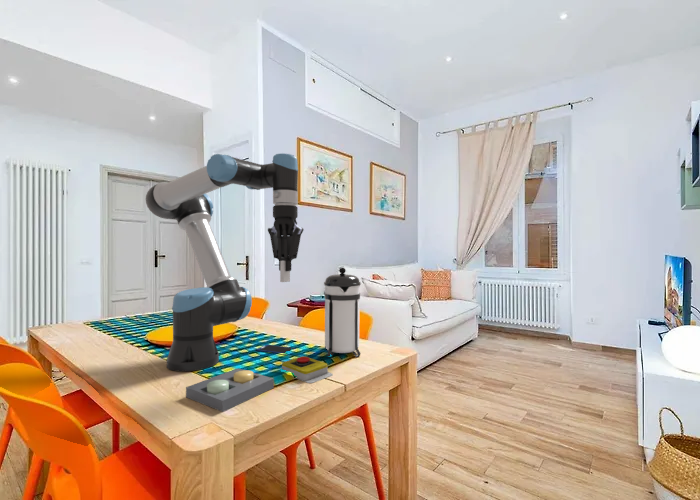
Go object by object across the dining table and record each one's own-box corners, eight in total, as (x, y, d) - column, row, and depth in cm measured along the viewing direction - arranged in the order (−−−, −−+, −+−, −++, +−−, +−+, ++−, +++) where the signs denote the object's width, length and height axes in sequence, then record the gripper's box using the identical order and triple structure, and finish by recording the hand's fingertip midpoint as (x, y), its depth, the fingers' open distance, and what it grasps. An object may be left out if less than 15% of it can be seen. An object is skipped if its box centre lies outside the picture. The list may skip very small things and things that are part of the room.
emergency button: (301, 350, 114) (334, 361, 104) (301, 364, 114) (334, 376, 104) (277, 357, 107) (310, 369, 97) (277, 372, 107) (310, 385, 97)
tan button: (229, 385, 94) (229, 374, 94) (244, 379, 98) (244, 369, 98) (242, 390, 91) (242, 378, 91) (257, 383, 95) (257, 372, 95)
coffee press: (373, 351, 126) (374, 267, 126) (343, 362, 114) (343, 269, 114) (338, 342, 138) (338, 265, 137) (307, 351, 126) (307, 267, 125)
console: (186, 397, 88) (186, 387, 88) (238, 377, 101) (238, 368, 101) (222, 411, 80) (222, 400, 80) (273, 387, 94) (273, 378, 94)
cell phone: (266, 346, 133) (266, 344, 133) (299, 350, 128) (299, 348, 128) (254, 351, 126) (254, 349, 126) (288, 356, 121) (288, 354, 121)
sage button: (202, 396, 87) (202, 384, 87) (220, 389, 91) (220, 378, 91) (215, 401, 84) (215, 389, 84) (232, 394, 88) (233, 382, 88)
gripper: (261, 205, 110) (261, 281, 110) (293, 203, 103) (292, 284, 103) (278, 207, 116) (278, 279, 117) (309, 205, 109) (309, 281, 110)
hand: (285, 281), depth 110 cm, fingers closed
